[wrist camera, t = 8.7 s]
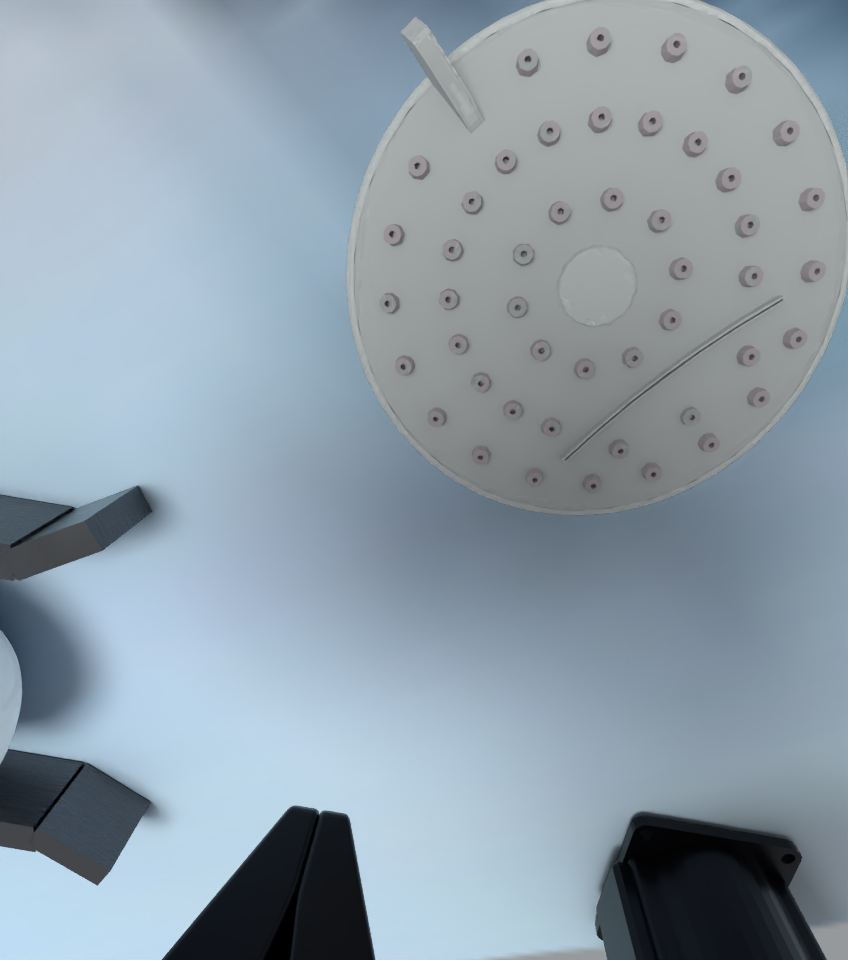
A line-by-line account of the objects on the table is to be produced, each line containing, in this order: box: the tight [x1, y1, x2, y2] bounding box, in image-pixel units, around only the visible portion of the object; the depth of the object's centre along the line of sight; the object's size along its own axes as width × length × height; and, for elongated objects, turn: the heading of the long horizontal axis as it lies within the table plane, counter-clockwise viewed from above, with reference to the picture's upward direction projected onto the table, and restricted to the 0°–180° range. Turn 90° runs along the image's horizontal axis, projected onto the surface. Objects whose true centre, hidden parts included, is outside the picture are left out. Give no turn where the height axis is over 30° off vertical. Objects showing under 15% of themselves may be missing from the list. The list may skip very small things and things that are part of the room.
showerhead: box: [346, 0, 848, 515], centre depth 14 cm, size 9×7×10 cm
